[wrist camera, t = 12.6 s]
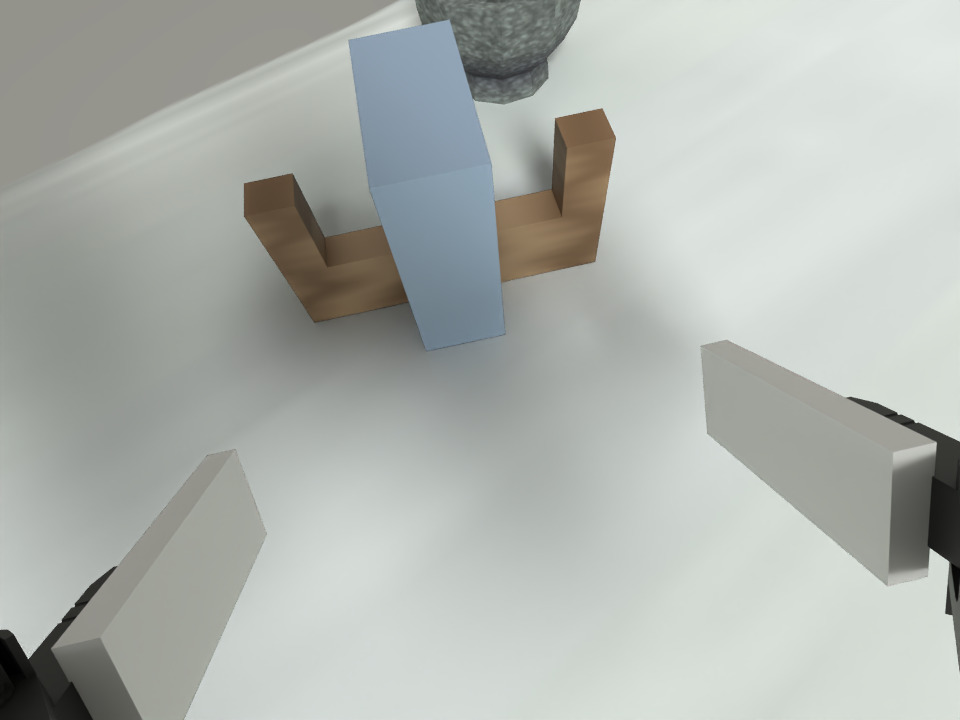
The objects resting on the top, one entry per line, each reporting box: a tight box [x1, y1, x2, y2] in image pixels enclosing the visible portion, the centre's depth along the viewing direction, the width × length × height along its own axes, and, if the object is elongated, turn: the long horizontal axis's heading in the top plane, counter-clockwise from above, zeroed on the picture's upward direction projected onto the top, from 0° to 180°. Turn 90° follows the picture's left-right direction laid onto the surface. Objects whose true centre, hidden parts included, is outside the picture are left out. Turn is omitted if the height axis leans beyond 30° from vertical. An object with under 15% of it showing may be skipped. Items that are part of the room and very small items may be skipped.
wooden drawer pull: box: [244, 109, 616, 322], centre depth 26 cm, size 15×2×8 cm, turn 102°
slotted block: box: [349, 20, 505, 351], centre depth 24 cm, size 4×8×11 cm, turn 11°
